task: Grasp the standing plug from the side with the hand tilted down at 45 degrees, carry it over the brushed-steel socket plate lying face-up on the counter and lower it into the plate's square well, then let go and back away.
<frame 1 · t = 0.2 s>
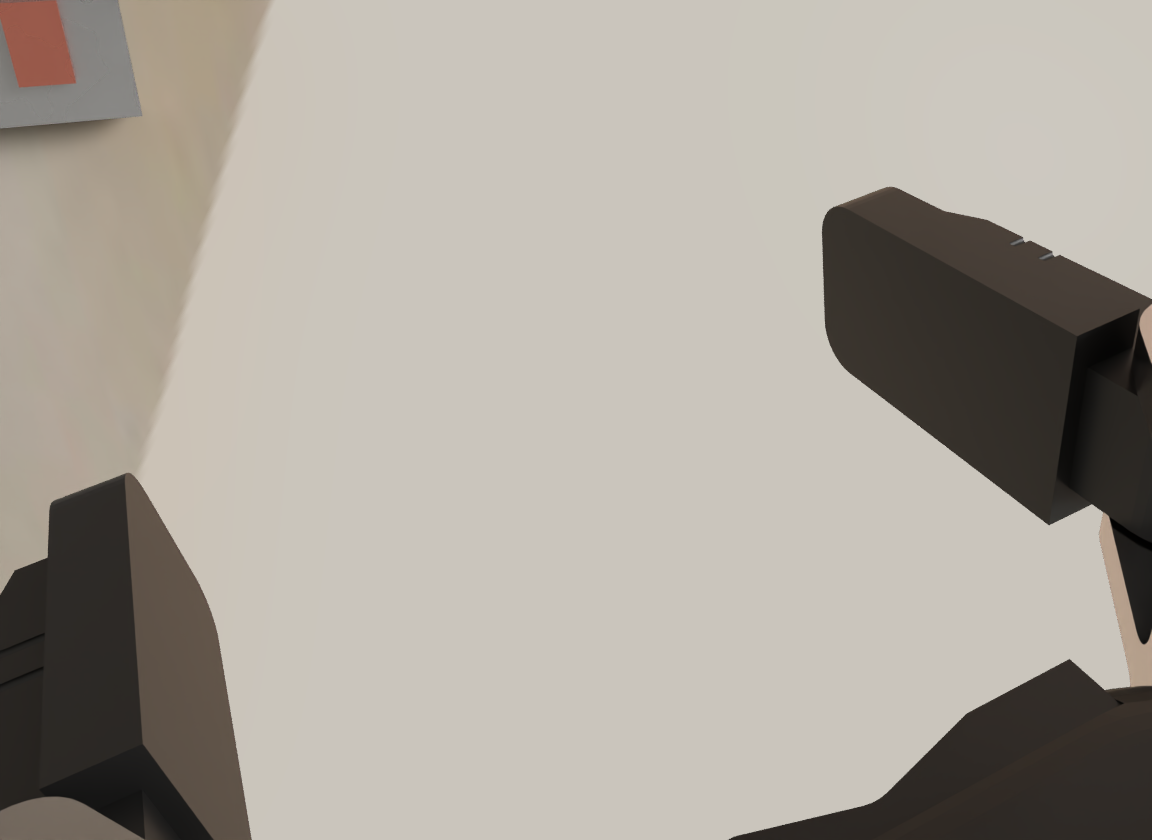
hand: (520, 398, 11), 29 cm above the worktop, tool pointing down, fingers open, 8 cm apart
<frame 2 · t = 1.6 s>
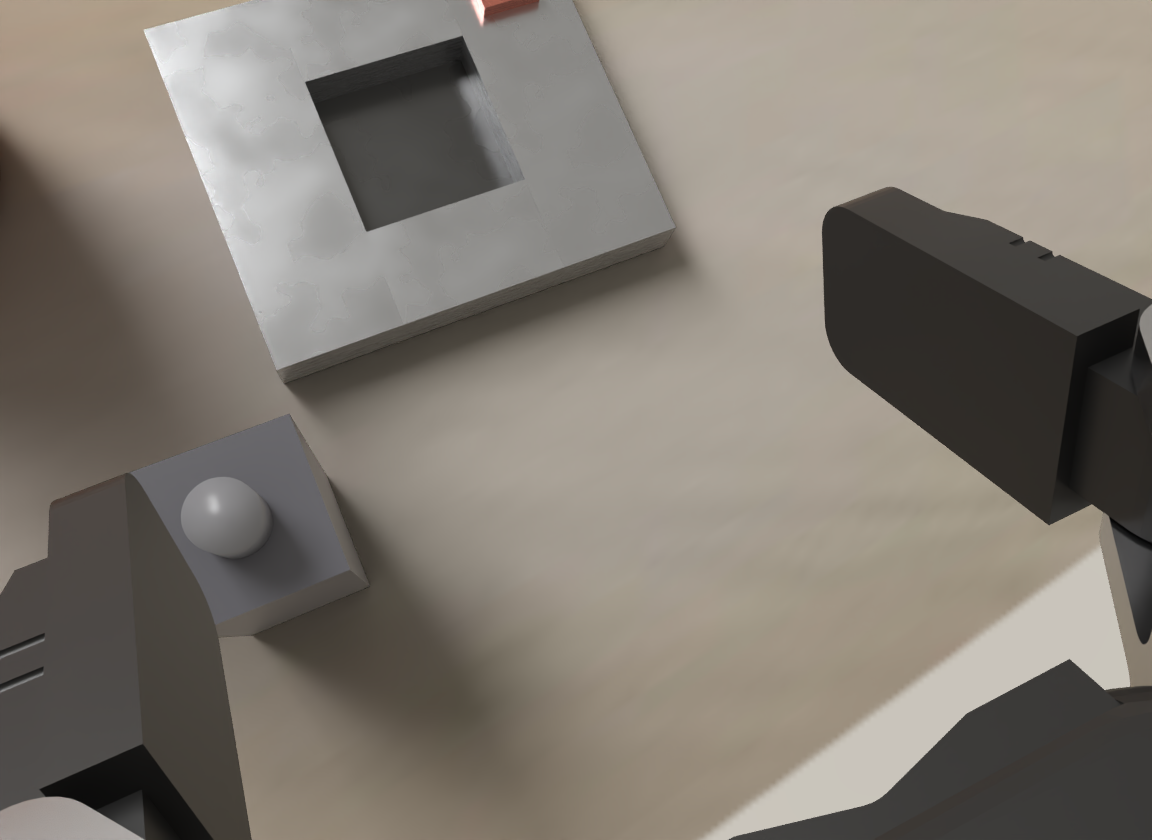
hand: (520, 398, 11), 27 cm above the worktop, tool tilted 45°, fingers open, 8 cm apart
socket: (415, 155, 40), on the worktop
plug: (289, 553, 36), on the worktop
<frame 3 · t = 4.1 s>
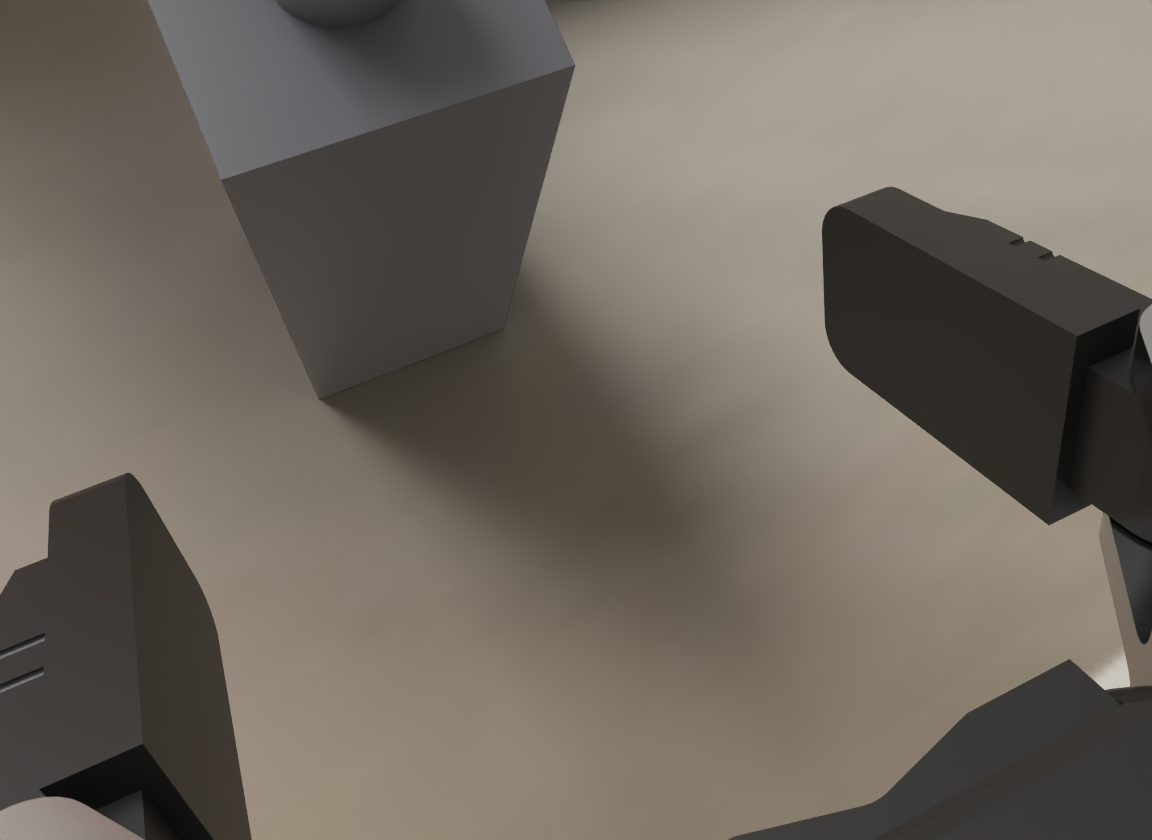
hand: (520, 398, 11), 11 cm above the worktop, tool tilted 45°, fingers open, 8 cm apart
plug: (376, 276, 23), on the worktop
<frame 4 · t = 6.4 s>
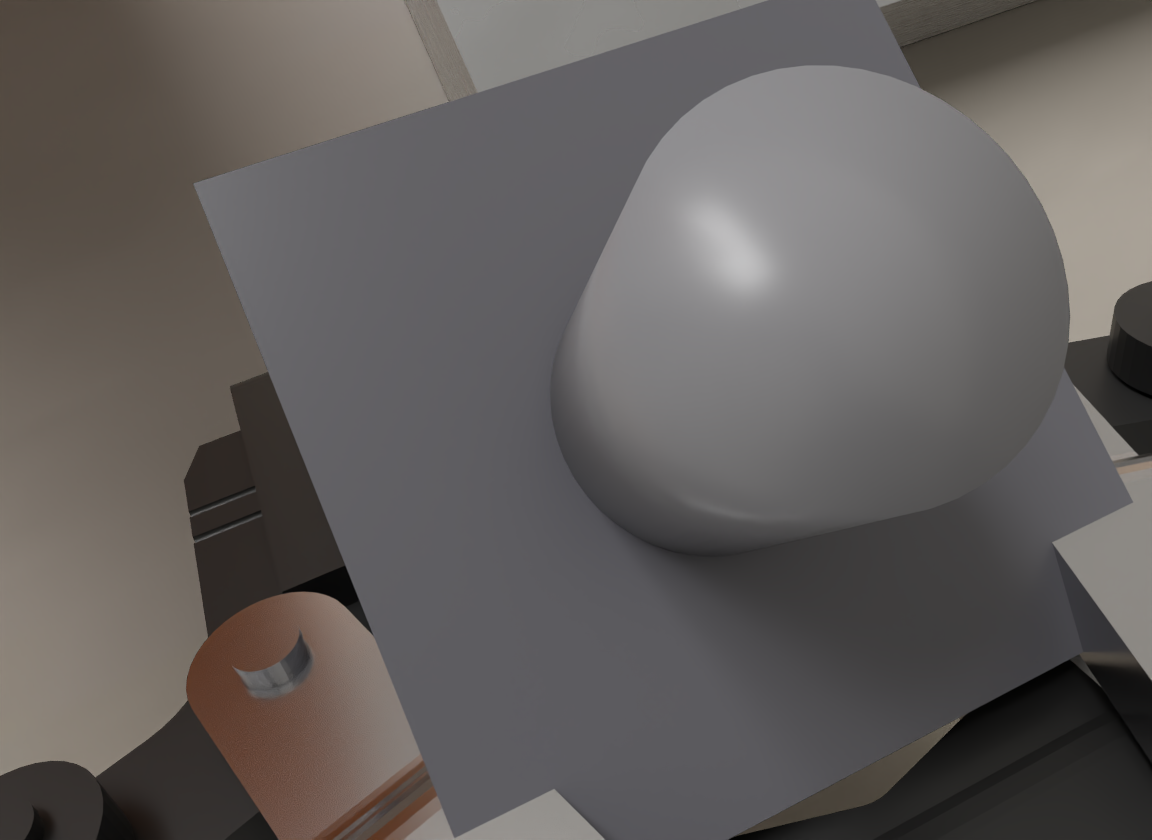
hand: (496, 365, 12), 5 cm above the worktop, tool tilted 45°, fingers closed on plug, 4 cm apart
plug: (520, 547, 16), on the worktop, touching gripper
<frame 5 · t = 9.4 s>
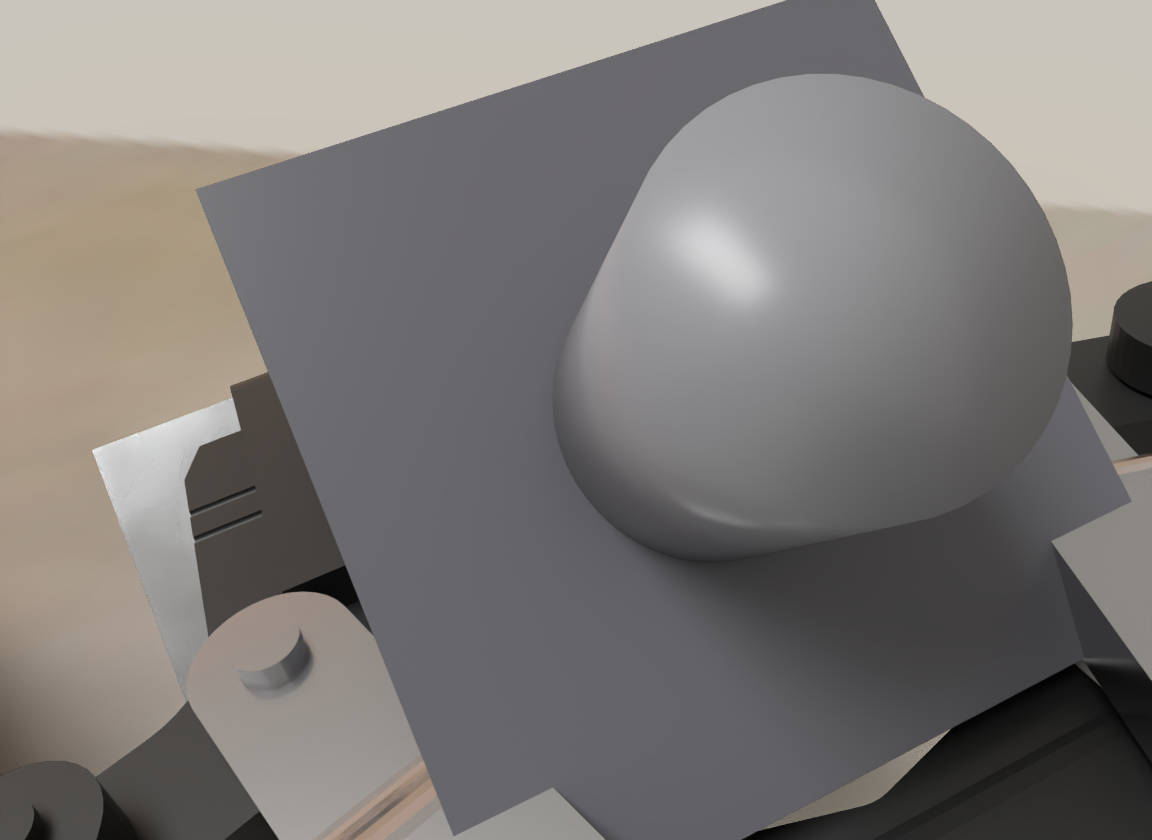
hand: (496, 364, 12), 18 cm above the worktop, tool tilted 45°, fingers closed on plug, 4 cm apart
socket: (475, 578, 29), on the worktop
plug: (521, 550, 16), point 13 cm above the worktop, touching gripper
when the fingers open (7 cm above the worktop, at t = 12.3 s): plug drops 1 cm, resting on socket.
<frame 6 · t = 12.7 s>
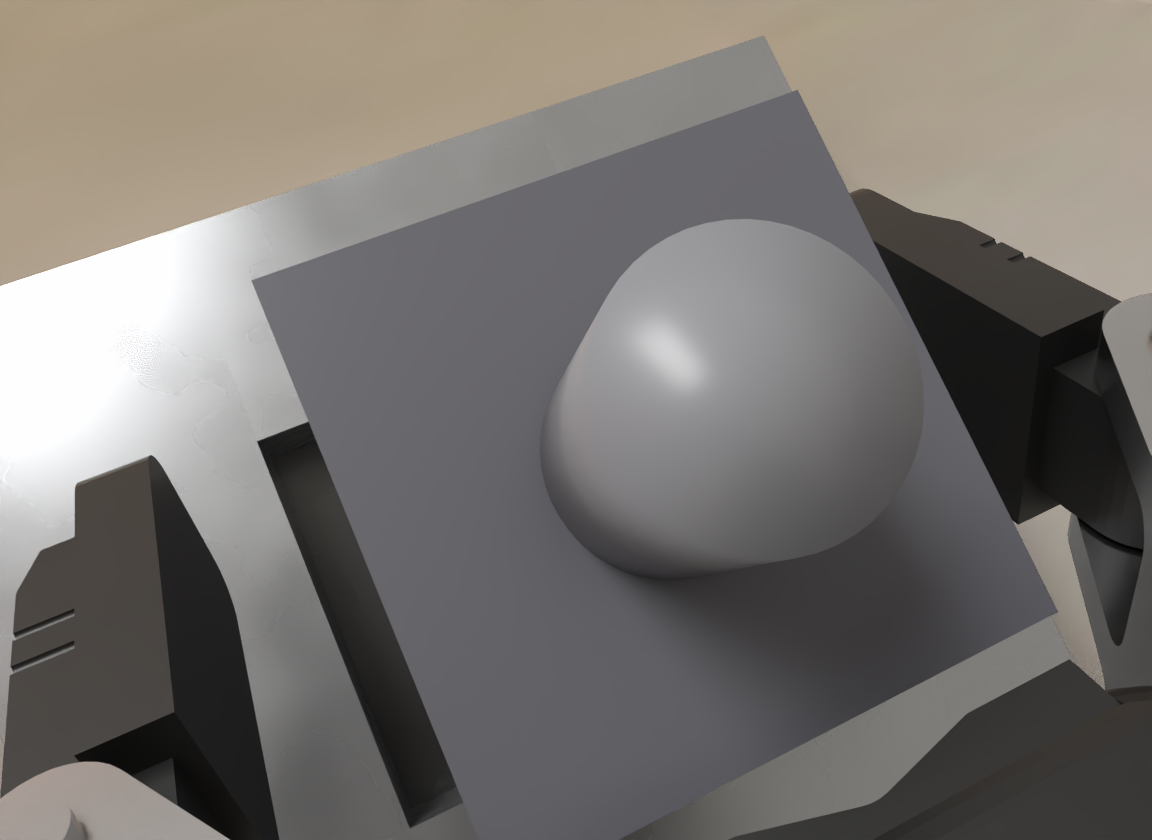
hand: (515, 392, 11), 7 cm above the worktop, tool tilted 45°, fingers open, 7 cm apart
socket: (510, 556, 18), on the worktop
plug: (518, 557, 18), resting on socket
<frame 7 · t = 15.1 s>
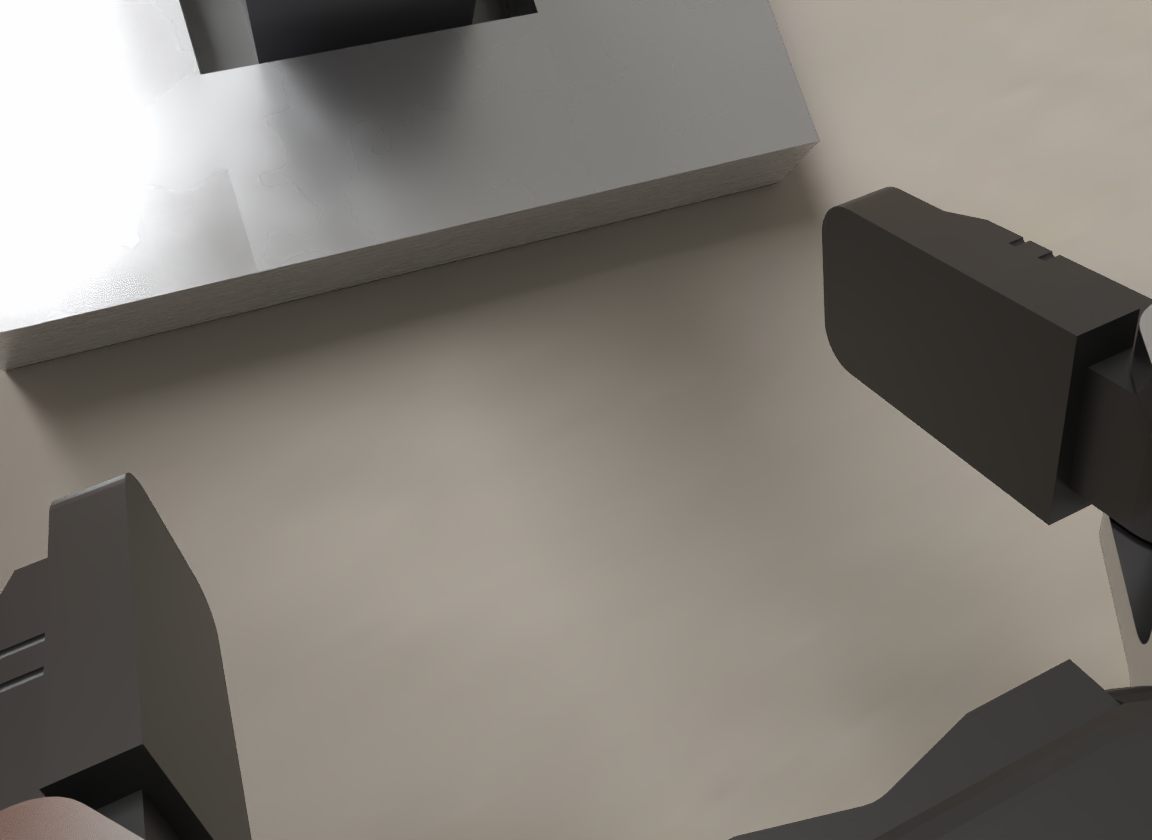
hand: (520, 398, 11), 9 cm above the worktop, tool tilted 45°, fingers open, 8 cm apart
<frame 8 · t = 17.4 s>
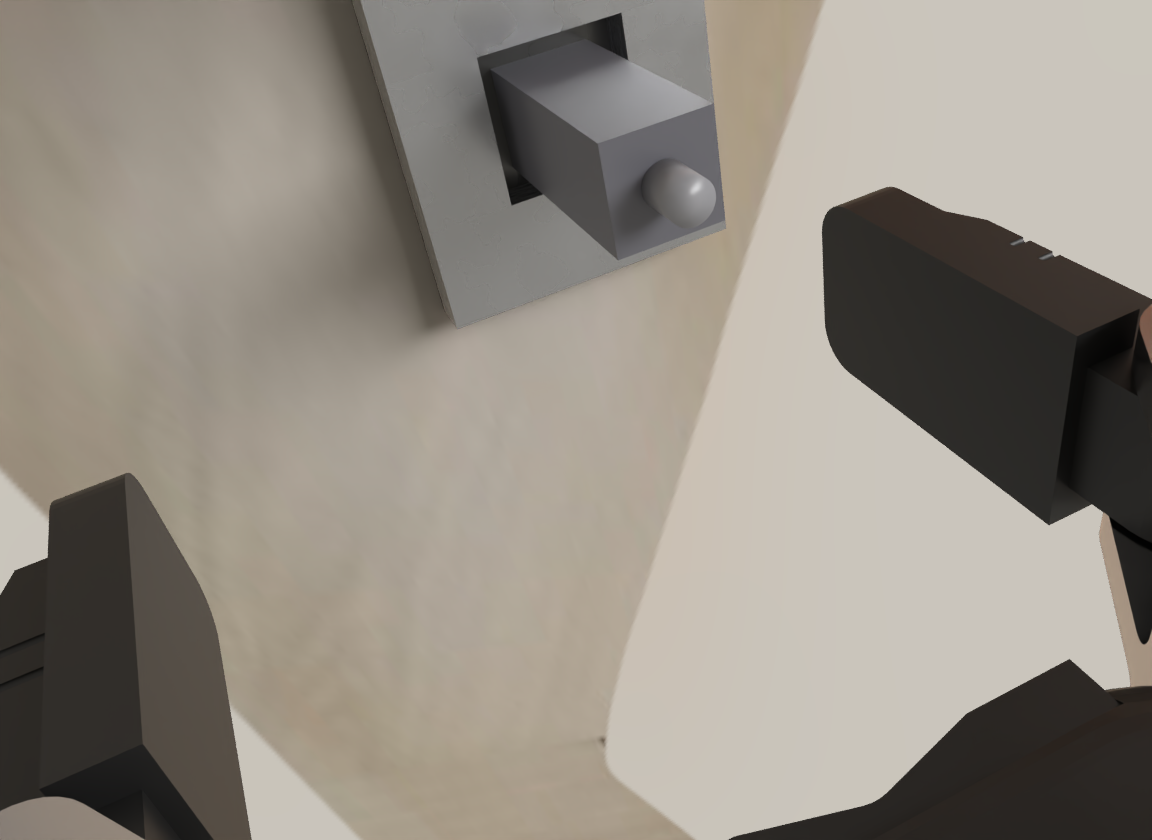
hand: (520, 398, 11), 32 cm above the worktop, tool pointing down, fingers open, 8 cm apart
socket: (547, 100, 43), on the worktop
plug: (548, 104, 43), resting on socket
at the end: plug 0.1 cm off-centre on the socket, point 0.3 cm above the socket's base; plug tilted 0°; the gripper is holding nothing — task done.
